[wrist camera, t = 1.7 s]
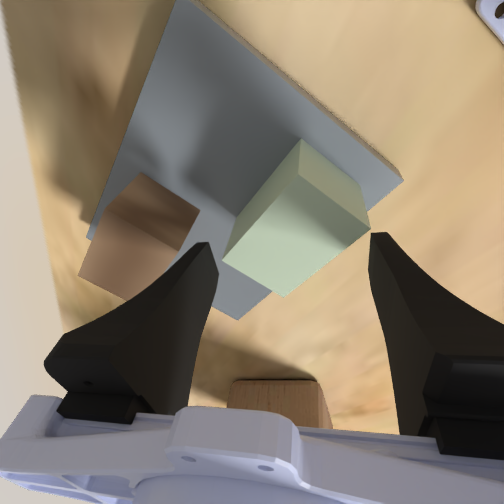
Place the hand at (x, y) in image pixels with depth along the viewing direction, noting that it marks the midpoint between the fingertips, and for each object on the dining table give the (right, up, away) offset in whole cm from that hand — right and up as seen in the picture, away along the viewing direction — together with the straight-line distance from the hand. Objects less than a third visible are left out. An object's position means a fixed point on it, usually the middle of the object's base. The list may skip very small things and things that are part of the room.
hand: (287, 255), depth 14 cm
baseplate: (-3, +3, +6) cm, 7 cm away
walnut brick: (-8, +2, +6) cm, 10 cm away
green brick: (+1, +3, +3) cm, 5 cm away
